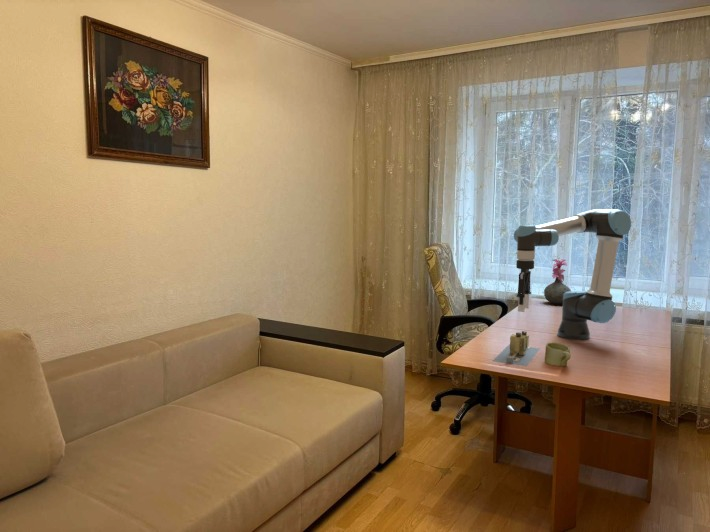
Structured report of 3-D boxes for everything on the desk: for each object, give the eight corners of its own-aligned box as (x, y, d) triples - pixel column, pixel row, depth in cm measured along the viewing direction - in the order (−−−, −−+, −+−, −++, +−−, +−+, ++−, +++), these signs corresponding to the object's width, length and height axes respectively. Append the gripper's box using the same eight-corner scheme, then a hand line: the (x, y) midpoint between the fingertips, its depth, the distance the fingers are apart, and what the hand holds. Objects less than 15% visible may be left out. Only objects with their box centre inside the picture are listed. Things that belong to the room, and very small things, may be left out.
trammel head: (525, 352, 233) (526, 332, 232) (523, 355, 229) (524, 335, 228) (512, 351, 236) (512, 331, 234) (509, 353, 232) (510, 333, 231)
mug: (536, 356, 225) (546, 336, 222) (557, 362, 226) (567, 343, 223) (546, 370, 213) (557, 349, 210) (569, 377, 215) (580, 356, 212)
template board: (540, 349, 242) (540, 347, 242) (526, 367, 215) (526, 365, 215) (509, 345, 249) (509, 343, 248) (492, 362, 222) (492, 360, 222)
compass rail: (528, 347, 243) (529, 331, 242) (514, 364, 218) (514, 346, 217) (519, 346, 245) (520, 330, 244) (504, 362, 220) (505, 345, 219)
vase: (546, 305, 344) (548, 260, 340) (541, 301, 361) (543, 257, 357) (573, 306, 341) (575, 261, 337) (567, 301, 358) (569, 258, 354)
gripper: (521, 257, 245) (519, 305, 248) (511, 261, 227) (509, 313, 230) (538, 258, 241) (536, 306, 244) (529, 262, 223) (527, 315, 226)
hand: (523, 309), depth 237 cm, fingers open, 8 cm apart
